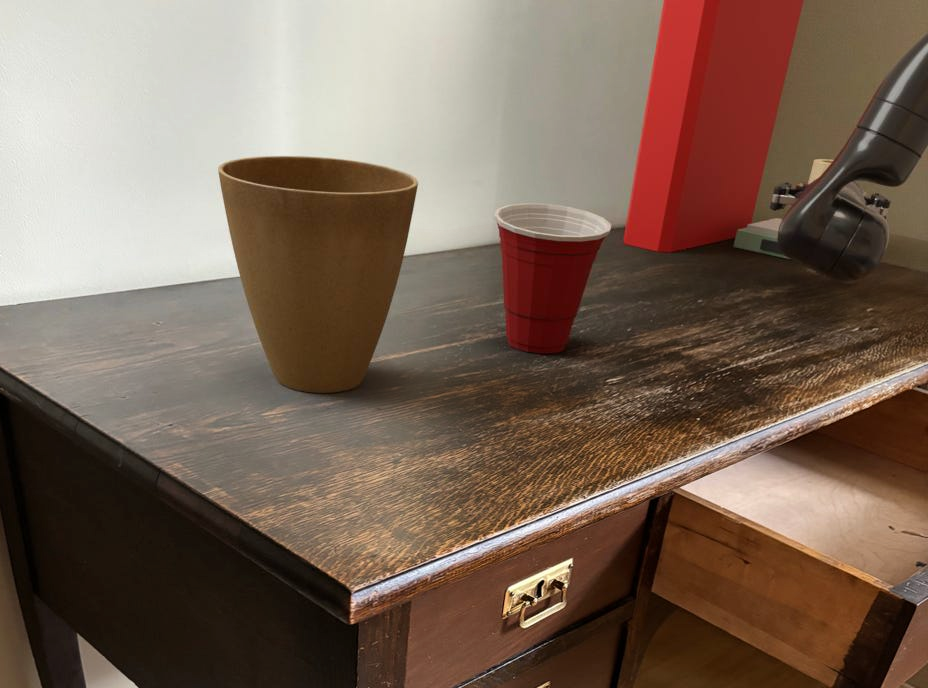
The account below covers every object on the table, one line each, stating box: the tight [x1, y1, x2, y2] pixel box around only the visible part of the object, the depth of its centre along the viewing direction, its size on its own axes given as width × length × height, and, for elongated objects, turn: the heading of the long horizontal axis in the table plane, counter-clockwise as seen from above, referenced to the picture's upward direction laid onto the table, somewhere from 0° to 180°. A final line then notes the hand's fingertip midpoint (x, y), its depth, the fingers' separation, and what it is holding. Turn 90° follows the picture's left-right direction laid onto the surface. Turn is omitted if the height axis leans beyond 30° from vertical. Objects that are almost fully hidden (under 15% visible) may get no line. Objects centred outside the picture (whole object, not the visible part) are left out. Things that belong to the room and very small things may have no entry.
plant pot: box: [217, 155, 419, 394], centre depth 77 cm, size 15×15×16 cm
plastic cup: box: [493, 202, 612, 354], centre depth 91 cm, size 11×11×12 cm
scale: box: [732, 217, 791, 260], centre depth 146 cm, size 13×13×3 cm
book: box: [622, 0, 805, 253], centre depth 140 cm, size 27×8×32 cm, turn 140°
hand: (828, 194), depth 125 cm, fingers closed on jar, 5 cm apart
